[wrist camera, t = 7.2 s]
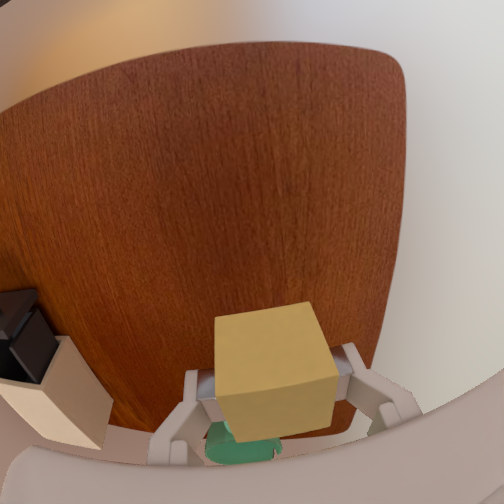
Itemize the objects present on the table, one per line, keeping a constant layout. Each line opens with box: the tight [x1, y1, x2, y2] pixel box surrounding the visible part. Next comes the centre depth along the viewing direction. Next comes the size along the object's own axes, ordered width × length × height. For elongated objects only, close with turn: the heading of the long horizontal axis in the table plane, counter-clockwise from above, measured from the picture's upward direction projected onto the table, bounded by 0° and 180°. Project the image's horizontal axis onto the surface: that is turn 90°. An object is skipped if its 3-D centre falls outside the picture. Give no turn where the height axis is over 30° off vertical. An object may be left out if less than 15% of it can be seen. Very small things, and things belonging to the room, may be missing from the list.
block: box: [215, 302, 339, 443], centre depth 11 cm, size 4×4×4 cm
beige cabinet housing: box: [0, 336, 114, 450], centre depth 29 cm, size 15×12×10 cm
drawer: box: [0, 289, 60, 385], centre depth 24 cm, size 18×11×8 cm, turn 7°
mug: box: [205, 421, 282, 465], centre depth 32 cm, size 15×10×10 cm
